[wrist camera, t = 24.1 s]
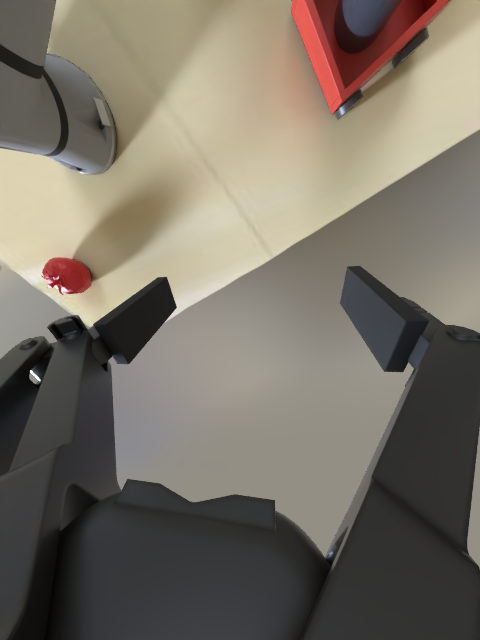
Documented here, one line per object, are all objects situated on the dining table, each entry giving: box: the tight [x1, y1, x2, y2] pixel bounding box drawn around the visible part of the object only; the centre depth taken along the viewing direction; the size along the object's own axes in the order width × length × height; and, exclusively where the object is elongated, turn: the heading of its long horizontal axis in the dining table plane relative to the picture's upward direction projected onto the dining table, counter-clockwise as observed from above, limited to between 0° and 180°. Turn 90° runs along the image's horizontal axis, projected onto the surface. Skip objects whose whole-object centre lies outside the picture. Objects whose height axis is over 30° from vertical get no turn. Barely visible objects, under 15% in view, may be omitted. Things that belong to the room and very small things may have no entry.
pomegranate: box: [41, 258, 92, 295], centre depth 50 cm, size 10×10×9 cm
